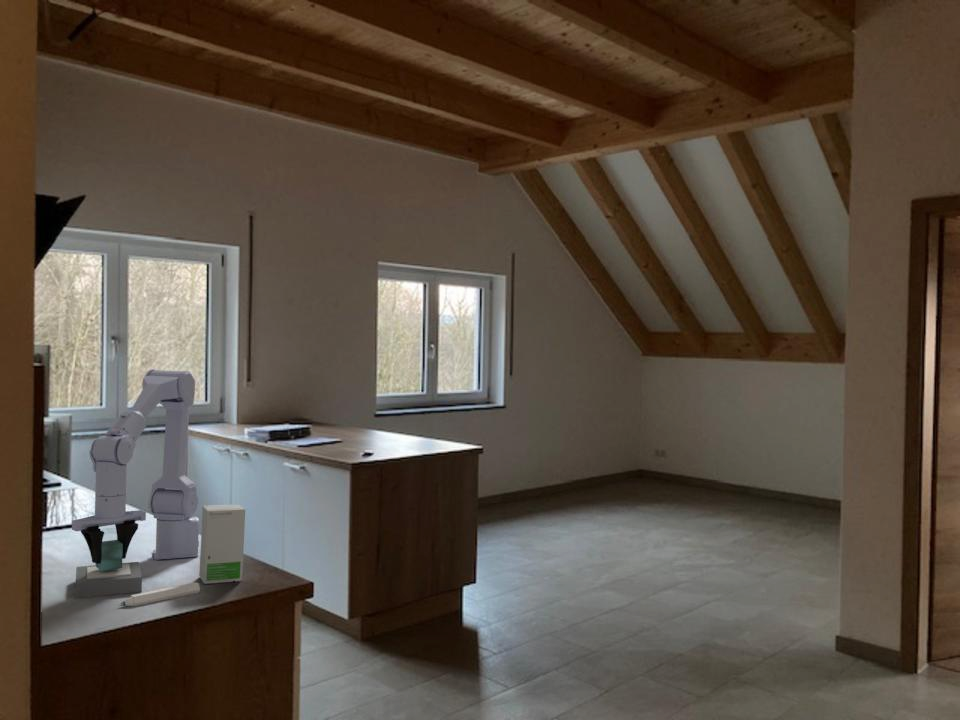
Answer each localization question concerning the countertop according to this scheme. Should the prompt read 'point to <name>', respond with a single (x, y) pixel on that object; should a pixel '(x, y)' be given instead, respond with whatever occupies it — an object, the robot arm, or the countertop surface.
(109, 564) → the teal block
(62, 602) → the countertop surface
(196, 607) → the countertop surface
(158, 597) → the marker
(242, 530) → the skincare box
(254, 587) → the countertop surface
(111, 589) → the charcoal plinth
